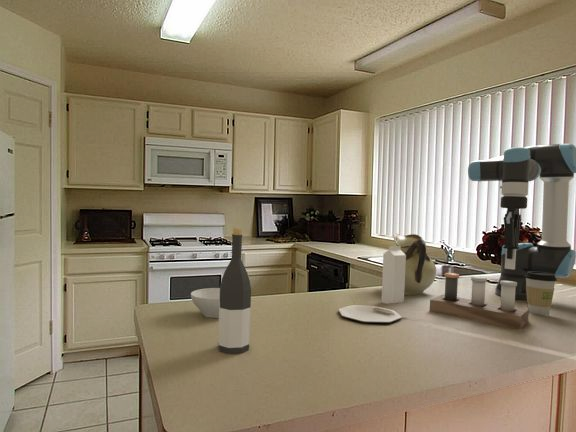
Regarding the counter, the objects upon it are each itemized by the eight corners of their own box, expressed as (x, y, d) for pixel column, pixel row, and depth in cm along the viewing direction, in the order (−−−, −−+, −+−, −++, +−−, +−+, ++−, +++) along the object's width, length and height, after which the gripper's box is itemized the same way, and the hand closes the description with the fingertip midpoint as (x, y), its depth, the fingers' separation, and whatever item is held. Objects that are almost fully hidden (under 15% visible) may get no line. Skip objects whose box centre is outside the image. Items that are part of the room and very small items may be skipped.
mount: (442, 307, 151) (442, 294, 151) (527, 324, 132) (528, 309, 132) (429, 313, 142) (430, 299, 142) (519, 332, 123) (520, 316, 123)
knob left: (501, 306, 134) (502, 279, 134) (517, 309, 131) (518, 282, 131) (497, 309, 131) (498, 281, 131) (513, 312, 128) (515, 284, 127)
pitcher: (399, 284, 192) (402, 232, 191) (447, 294, 175) (450, 237, 174) (371, 291, 177) (374, 234, 176) (421, 302, 160) (424, 239, 159)
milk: (403, 304, 154) (406, 246, 153) (392, 306, 151) (395, 247, 150) (392, 300, 159) (395, 245, 159) (380, 302, 156) (383, 245, 156)
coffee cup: (559, 319, 140) (562, 276, 140) (528, 317, 142) (530, 274, 142) (547, 312, 150) (549, 272, 149) (518, 310, 152) (520, 270, 151)
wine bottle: (244, 356, 97) (248, 230, 96) (212, 352, 98) (216, 228, 97) (253, 344, 105) (257, 228, 104) (223, 341, 106) (227, 227, 105)
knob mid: (472, 301, 140) (473, 276, 140) (487, 304, 137) (488, 278, 137) (468, 304, 137) (469, 277, 136) (483, 306, 134) (484, 279, 133)
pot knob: (446, 297, 146) (447, 272, 146) (459, 299, 143) (461, 274, 143) (441, 299, 143) (442, 273, 142) (455, 301, 139) (456, 275, 139)
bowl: (249, 312, 135) (250, 291, 135) (222, 324, 120) (222, 301, 120) (209, 306, 142) (210, 286, 141) (179, 316, 127) (180, 294, 127)
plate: (410, 318, 136) (410, 313, 136) (379, 330, 122) (380, 325, 122) (360, 306, 150) (360, 302, 150) (327, 316, 135) (327, 311, 135)
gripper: (506, 197, 138) (502, 265, 139) (496, 194, 129) (491, 268, 129) (531, 197, 133) (527, 268, 134) (522, 195, 124) (518, 272, 124)
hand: (509, 268), depth 131 cm, fingers closed
